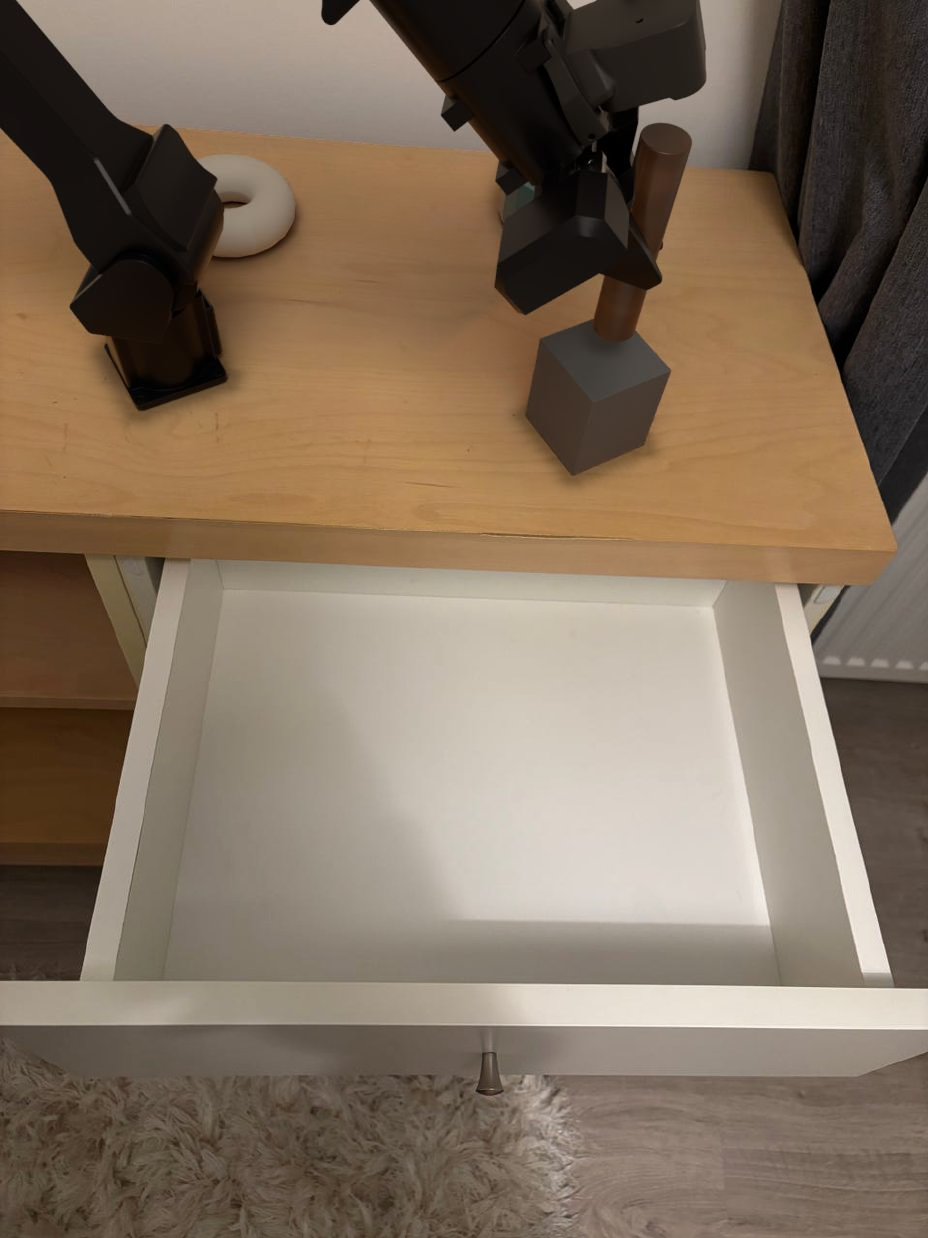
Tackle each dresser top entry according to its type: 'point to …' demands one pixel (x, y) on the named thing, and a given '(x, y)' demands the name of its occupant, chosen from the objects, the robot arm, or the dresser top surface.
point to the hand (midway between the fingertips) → (655, 267)
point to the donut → (250, 203)
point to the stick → (645, 221)
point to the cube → (594, 395)
